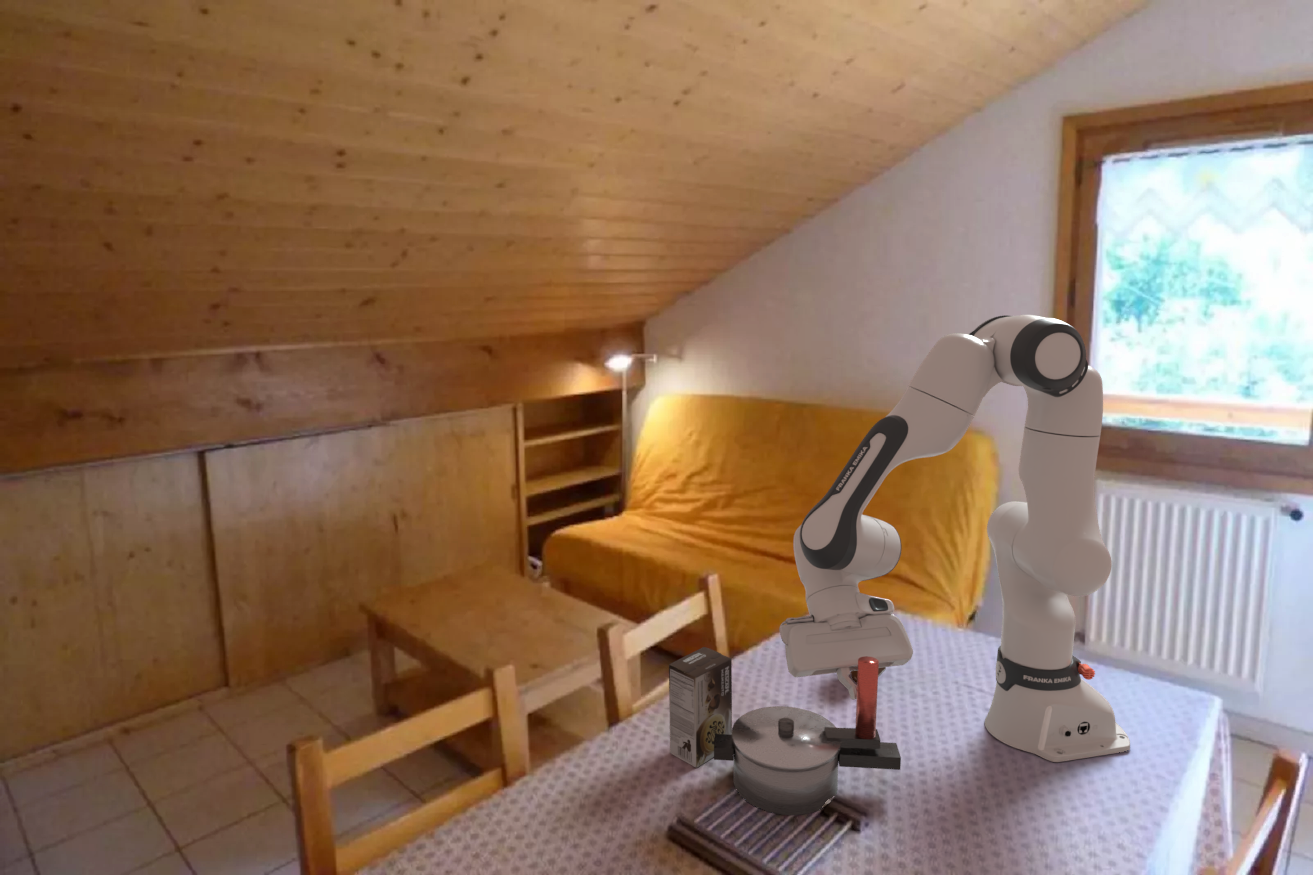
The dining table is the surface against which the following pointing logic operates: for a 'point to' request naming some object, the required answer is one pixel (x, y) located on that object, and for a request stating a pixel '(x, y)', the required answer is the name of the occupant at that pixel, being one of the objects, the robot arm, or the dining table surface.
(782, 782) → the pot
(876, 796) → the dining table surface
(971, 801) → the dining table surface
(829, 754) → the lid
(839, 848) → the dining table surface
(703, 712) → the coffee box
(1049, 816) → the dining table surface
